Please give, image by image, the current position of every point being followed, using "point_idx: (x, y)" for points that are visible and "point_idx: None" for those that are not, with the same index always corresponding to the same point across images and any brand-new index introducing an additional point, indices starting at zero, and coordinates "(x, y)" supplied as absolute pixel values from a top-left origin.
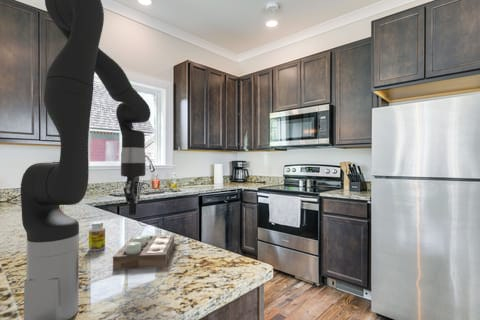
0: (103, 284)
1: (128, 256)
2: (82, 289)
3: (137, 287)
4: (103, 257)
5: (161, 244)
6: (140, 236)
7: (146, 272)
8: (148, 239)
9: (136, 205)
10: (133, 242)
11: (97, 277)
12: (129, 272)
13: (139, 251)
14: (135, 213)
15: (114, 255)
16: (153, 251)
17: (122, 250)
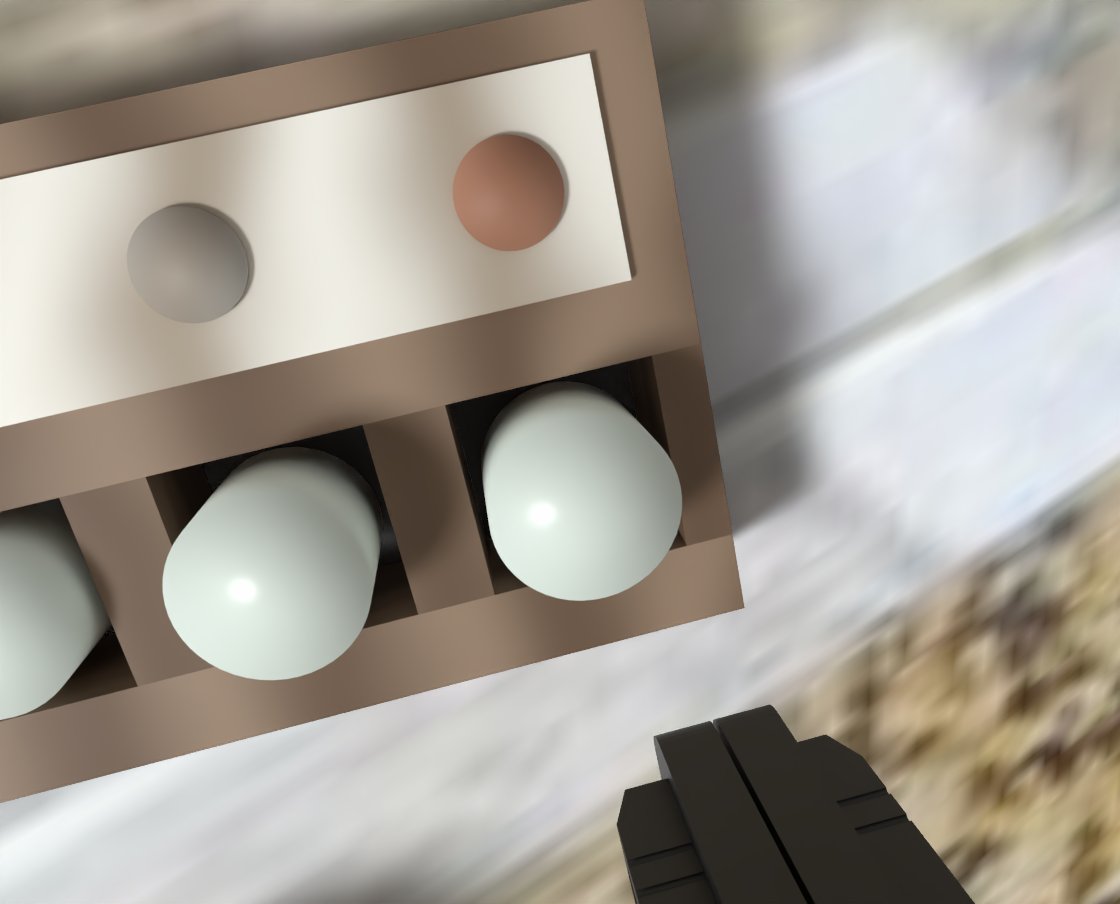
0: (989, 452)
1: (716, 454)
2: (1057, 553)
3: (1064, 128)
4: (407, 822)
5: (243, 218)
6: (200, 602)
7: (758, 191)
8: (10, 540)
9: (823, 883)
10: (514, 546)
11: (860, 581)
12: (759, 365)
13: (585, 395)
14: (777, 719)
15: (706, 615)
16: (566, 208)
17: (539, 625)
